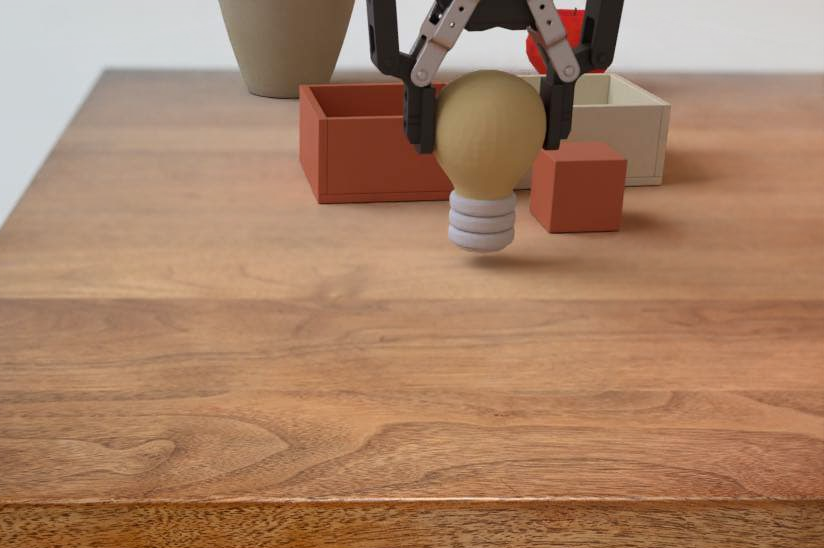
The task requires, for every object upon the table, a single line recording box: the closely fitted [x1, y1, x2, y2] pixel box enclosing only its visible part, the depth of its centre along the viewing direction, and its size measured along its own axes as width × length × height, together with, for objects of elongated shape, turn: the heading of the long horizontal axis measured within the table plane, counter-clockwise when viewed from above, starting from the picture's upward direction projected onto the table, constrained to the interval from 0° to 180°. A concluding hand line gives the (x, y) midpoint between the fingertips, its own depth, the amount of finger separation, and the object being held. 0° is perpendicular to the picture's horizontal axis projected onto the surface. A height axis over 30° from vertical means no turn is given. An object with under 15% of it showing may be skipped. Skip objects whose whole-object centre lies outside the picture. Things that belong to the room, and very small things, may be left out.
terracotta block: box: [528, 142, 628, 234], centre depth 78 cm, size 4×4×4 cm
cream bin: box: [513, 72, 672, 190], centre depth 90 cm, size 11×11×6 cm
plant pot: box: [217, 0, 356, 99], centre depth 113 cm, size 15×15×16 cm
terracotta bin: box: [298, 81, 455, 204], centre depth 87 cm, size 11×11×6 cm
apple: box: [525, 6, 608, 75], centre depth 115 cm, size 8×8×7 cm
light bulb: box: [433, 69, 546, 254], centre depth 70 cm, size 6×6×10 cm
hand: (486, 148), depth 69 cm, fingers closed on light bulb, 6 cm apart
